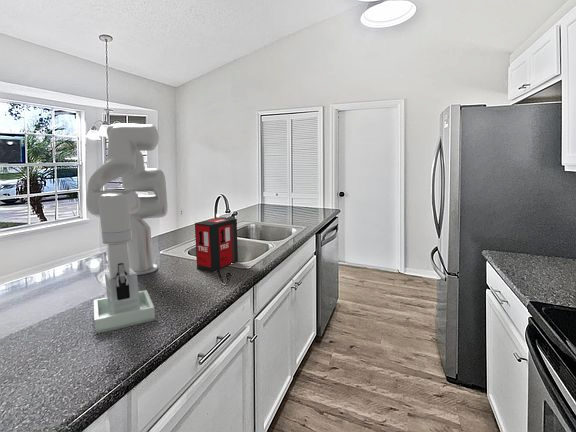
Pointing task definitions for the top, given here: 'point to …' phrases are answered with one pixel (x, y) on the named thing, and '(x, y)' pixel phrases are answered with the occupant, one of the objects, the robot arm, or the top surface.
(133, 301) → the supplement box
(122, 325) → the tray
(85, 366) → the top surface
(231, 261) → the cleaning product box
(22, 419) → the top surface
